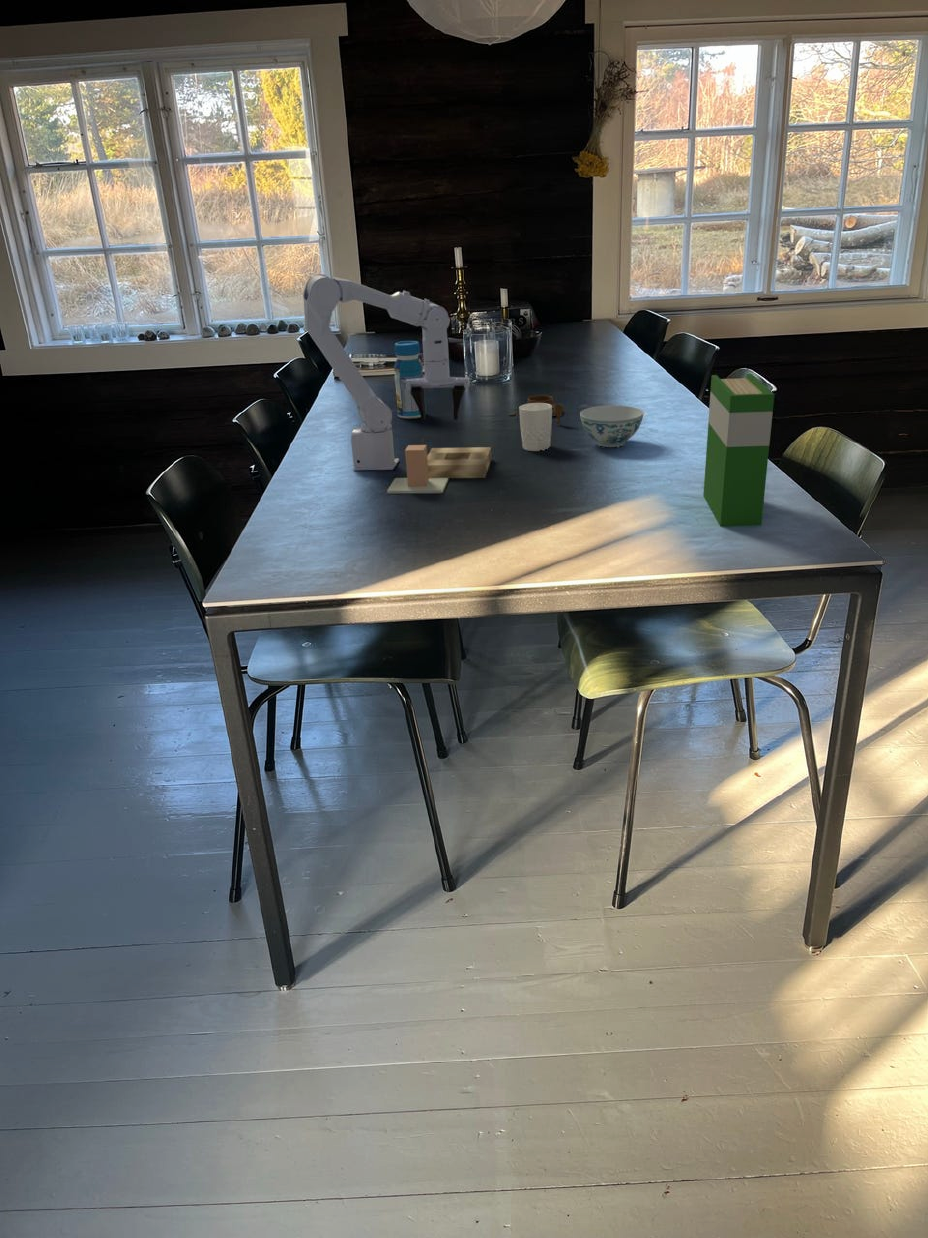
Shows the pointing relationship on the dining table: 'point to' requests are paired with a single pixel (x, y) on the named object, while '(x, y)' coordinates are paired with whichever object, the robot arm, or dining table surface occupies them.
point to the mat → (432, 487)
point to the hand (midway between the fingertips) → (439, 418)
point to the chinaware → (611, 424)
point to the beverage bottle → (407, 377)
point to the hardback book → (737, 450)
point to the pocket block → (459, 462)
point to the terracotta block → (417, 465)
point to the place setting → (548, 400)
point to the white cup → (535, 426)
